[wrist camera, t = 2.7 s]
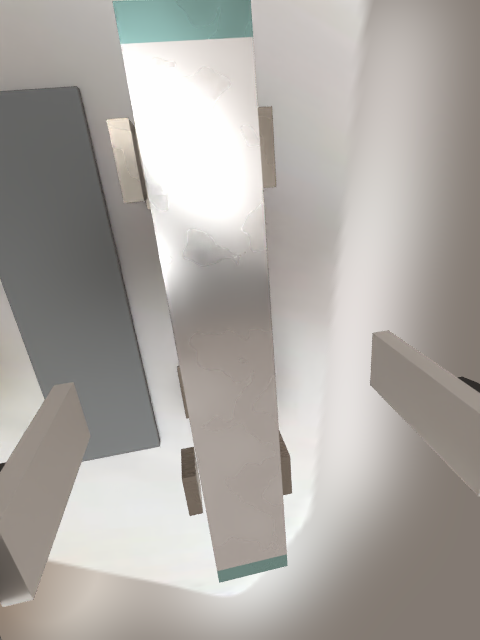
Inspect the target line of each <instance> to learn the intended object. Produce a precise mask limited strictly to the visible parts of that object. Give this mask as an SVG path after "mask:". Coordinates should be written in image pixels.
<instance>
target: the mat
mask: <svg viewBox="0 0 480 640" xmlns="http://www.w3.org/2000/svg"><path fill="white" fill-rule="evenodd" d="M0 279H1V282H2V284H3V287H4V290H5V293H6V295H7V298H8V301H9V303H10V306H11V309H12V312H13V314H14V317H15V320H16V323H17V325H18V328H19V331H20V333H21V336H22V339H23V342H24V344H25V347H26V350H27V352H28V355H29V358H30V361H31V363H32V366H33V369H34V371H35V374H36V377H37V380H38V382H39V385H40V388H41V391H42V393H43V396H44V399H46V397H47V396H48V394H49V392H50V391H51V389H52V388H53V386H54V385H59V384H65V383H71V382H74V386H75V389H76V392H77V395H78V398H79V401H80V405H81V408H82V411H83V414H84V417H85V420H86V423H87V427H88V430H89V433H90V439H89V441H88V444H87V447H86V450H85V453H84V456H83V459H82V462H83V461H88V460H93V459H98V458H103V457H108V456H114V455H119V454H124V453H129V452H134V451H139V450H144V449H149V448H155V447H160V439H159V435H158V430H157V426H156V422H155V417H154V413H153V409H152V404H151V400H150V396H149V391H148V387H147V383H146V378H145V374H144V370H143V365H142V361H141V356H140V352H139V348H138V343H137V339H136V335H135V330H134V326H133V322H132V317H131V313H130V309H129V304H128V300H127V296H126V291H125V287H124V283H123V278H122V274H121V269H120V265H119V261H118V256H117V252H116V248H115V243H114V239H113V235H112V230H111V226H110V222H109V217H108V213H107V209H106V204H105V200H104V195H103V191H102V187H101V182H100V178H99V174H98V169H97V165H96V161H95V156H94V152H93V148H92V143H91V139H90V135H89V130H88V126H87V122H86V117H85V113H84V108H83V104H82V100H81V95H80V91H79V88H78V87H77V86H74V87H59V88H44V89H29V90H14V91H0Z"/></svg>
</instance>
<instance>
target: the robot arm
mask: <svg viewBox="0 0 480 640" xmlns="http://www.w3.org/2000/svg"><path fill="white" fill-rule="evenodd" d="M370 379H371V380H370V385H371V386H372V387H373V388H374V389H375V390H376V391H377V392H378V393H379V394H380V395H381V396H382V398H384V400H385V401H386V402H387V403H388V404H389V405H390V406H391V407H392V408H393V409H394V410H395V411H396V412H397V413H398V414H399V415H400V416H401V417H402V418H403V419H404V420H405V421H406V422H407V423H408V424H409V425H410V426H411V427H412V428H413V430H414V431H416V433H418V435H419V436H421V438H422V439H423V440H424V441H425V442H426V443H427V444H428V445H429V446H430V447H431V448H432V449H433V450H434V451H435V452H436V453H437V454H438V455H439V456H440V457H441V458H442V459H443V460H444V462H445V463H446V464H447V465H448V466H449V467H450V468H451V469H452V470H453V471H454V472H455V473H456V474H457V475H458V476H459V477H460V478H461V479H462V480H463V481H464V482H465V483H466V484H467V485H468V486H469V487H470V488H471V489H472V490H473V491H474V492H475V494H477V496H480V384H479V383H477V382H474V381H472V380H469V379H467V378H464V377H458V378H457V377H456V376H454V375H453V374H451V373H450V372H448V371H447V370H445V369H444V368H442V367H441V366H440V365H438V364H437V363H435V362H434V361H432V360H431V359H429V358H428V357H426V356H425V355H423V354H422V353H421V352H419V351H418V350H416V349H415V348H413V347H412V346H410V345H409V344H407V343H406V342H405V341H403V340H402V339H400V338H399V337H397V336H396V335H394V334H393V333H391V332H390V331H389V330H388V331H382V332H376V333H373V337H372V358H371V378H370ZM89 439H90V433H89V430H88V427H87V423H86V420H85V417H84V414H83V411H82V408H81V405H80V401H79V398H78V395H77V392H76V389H75V386H74V382H71V383H65V384H59V385H54V386H53V388H52V389H51V391H50V392H49V394H48V396H47V397H46V399H45V401H44V402H43V404H42V405H41V407H40V409H39V410H38V412H37V414H36V415H35V417H34V418H33V420H32V422H31V423H30V425H29V426H28V428H27V430H26V431H25V433H24V435H23V436H22V438H21V439H20V441H19V443H18V444H17V446H16V448H15V449H14V451H13V452H12V454H11V456H10V457H9V459H8V460H7V462H6V463H1V464H0V602H1V604H2V606H3V607H5V606H9V605H13V604H17V603H22V602H26V601H31V600H34V597H35V594H36V591H37V588H38V585H39V583H40V580H41V577H42V574H43V571H44V568H45V565H46V562H47V560H48V557H49V554H50V551H51V548H52V545H53V542H54V539H55V537H56V534H57V531H58V528H59V525H60V522H61V519H62V516H63V513H64V511H65V508H66V505H67V502H68V499H69V496H70V493H71V490H72V488H73V485H74V482H75V479H76V476H77V473H78V470H79V467H80V465H81V462H82V459H83V456H84V453H85V450H86V447H87V444H88V441H89ZM0 640H2V639H1V637H0Z"/></svg>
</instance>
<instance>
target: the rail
mask: <svg viewBox="0 0 480 640" xmlns="http://www.w3.org/2000/svg"><path fill="white" fill-rule="evenodd" d="M113 6H114V12H115V17H116V22H117V28H118V33H119V39H120V44H121V50H122V55H123V61H124V66H125V71H126V77H127V82H128V88H129V93H130V99H131V104H132V110H133V115H134V120H135V126H136V131H137V137H138V142H139V148H140V153H141V159H142V164H143V169H144V175H145V180H146V186H147V191H148V197H149V202H150V208H151V213H152V218H153V224H154V229H155V235H156V240H157V246H158V251H159V257H160V262H161V267H162V273H163V278H164V284H165V289H166V295H167V300H168V306H169V311H170V316H171V322H172V327H173V333H174V338H175V344H176V349H177V355H178V360H179V365H180V371H181V376H182V382H183V387H184V393H185V398H186V404H187V409H188V414H189V420H190V425H191V431H192V436H193V442H194V447H195V453H196V458H197V463H198V469H199V474H200V480H201V485H202V491H203V496H204V502H205V507H206V512H207V518H208V523H209V529H210V534H211V540H212V545H213V551H214V556H215V561H216V567H217V572H218V578H219V583H220V582H224V581H228V580H232V579H236V578H240V577H244V576H248V575H252V574H256V573H260V572H264V571H268V570H272V569H276V568H280V567H284V566H287V551H286V535H285V520H284V504H283V489H282V474H281V458H280V443H279V428H278V412H277V397H276V382H275V366H274V351H273V336H272V320H271V305H270V290H269V274H268V259H267V243H266V228H265V213H264V197H263V182H262V167H261V151H260V136H259V121H258V105H257V90H256V75H255V59H254V44H253V29H252V13H251V0H126V1H113Z"/></svg>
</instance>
